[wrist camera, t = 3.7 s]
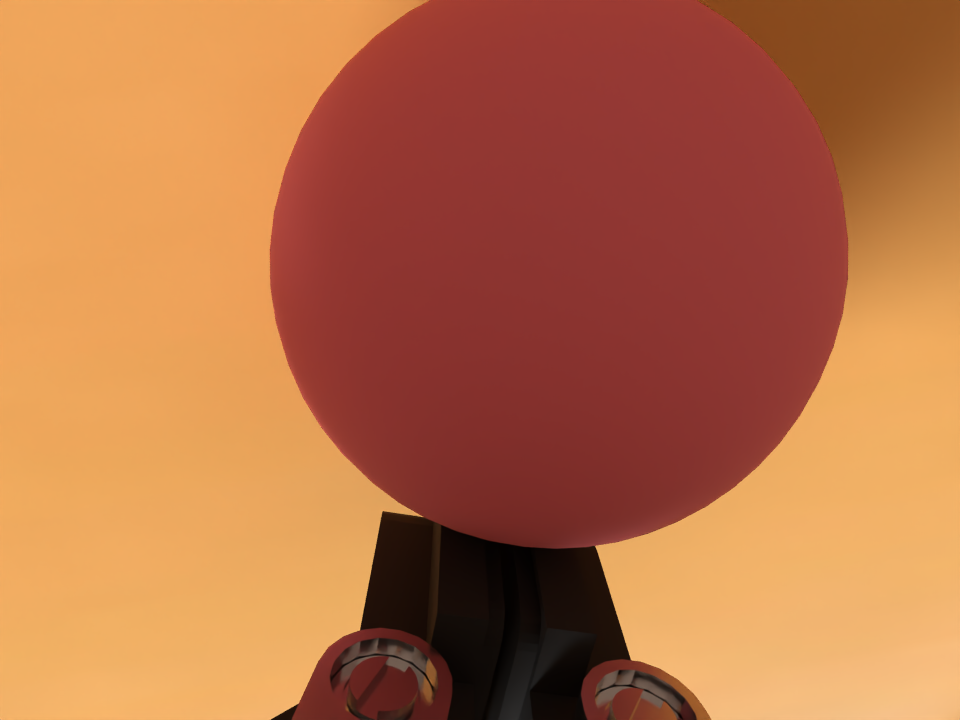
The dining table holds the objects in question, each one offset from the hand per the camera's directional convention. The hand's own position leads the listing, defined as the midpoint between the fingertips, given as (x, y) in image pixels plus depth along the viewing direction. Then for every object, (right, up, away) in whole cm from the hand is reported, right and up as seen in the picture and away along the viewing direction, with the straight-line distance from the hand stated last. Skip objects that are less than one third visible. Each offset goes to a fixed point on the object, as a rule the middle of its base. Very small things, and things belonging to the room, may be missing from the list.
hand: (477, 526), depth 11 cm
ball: (+1, +4, -3) cm, 5 cm away
